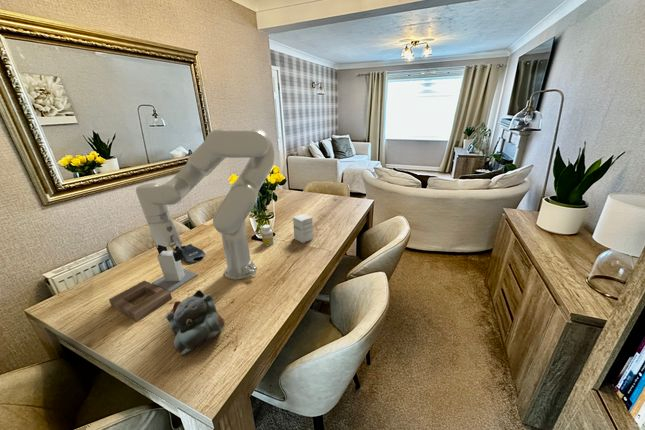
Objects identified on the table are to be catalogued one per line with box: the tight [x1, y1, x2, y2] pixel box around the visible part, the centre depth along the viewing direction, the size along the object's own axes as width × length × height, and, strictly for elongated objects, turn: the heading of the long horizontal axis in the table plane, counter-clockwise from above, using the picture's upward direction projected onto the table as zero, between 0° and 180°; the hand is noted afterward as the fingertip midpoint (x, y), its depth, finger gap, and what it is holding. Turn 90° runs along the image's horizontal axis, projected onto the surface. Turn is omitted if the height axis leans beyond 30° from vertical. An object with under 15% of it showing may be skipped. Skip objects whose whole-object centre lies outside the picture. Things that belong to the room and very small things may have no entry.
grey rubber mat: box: [151, 268, 199, 293], centre depth 103 cm, size 12×12×1 cm
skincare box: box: [156, 250, 185, 281], centre depth 100 cm, size 6×4×12 cm
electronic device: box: [181, 243, 206, 264], centre depth 120 cm, size 9×6×15 cm
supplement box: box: [292, 213, 314, 244], centre depth 132 cm, size 7×7×13 cm
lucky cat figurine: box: [165, 290, 226, 356], centre depth 75 cm, size 15×12×14 cm
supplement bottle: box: [261, 224, 274, 247], centre depth 128 cm, size 5×5×10 cm
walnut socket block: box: [108, 279, 173, 322], centre depth 90 cm, size 16×12×3 cm
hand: (171, 257), depth 99 cm, fingers open, 9 cm apart
